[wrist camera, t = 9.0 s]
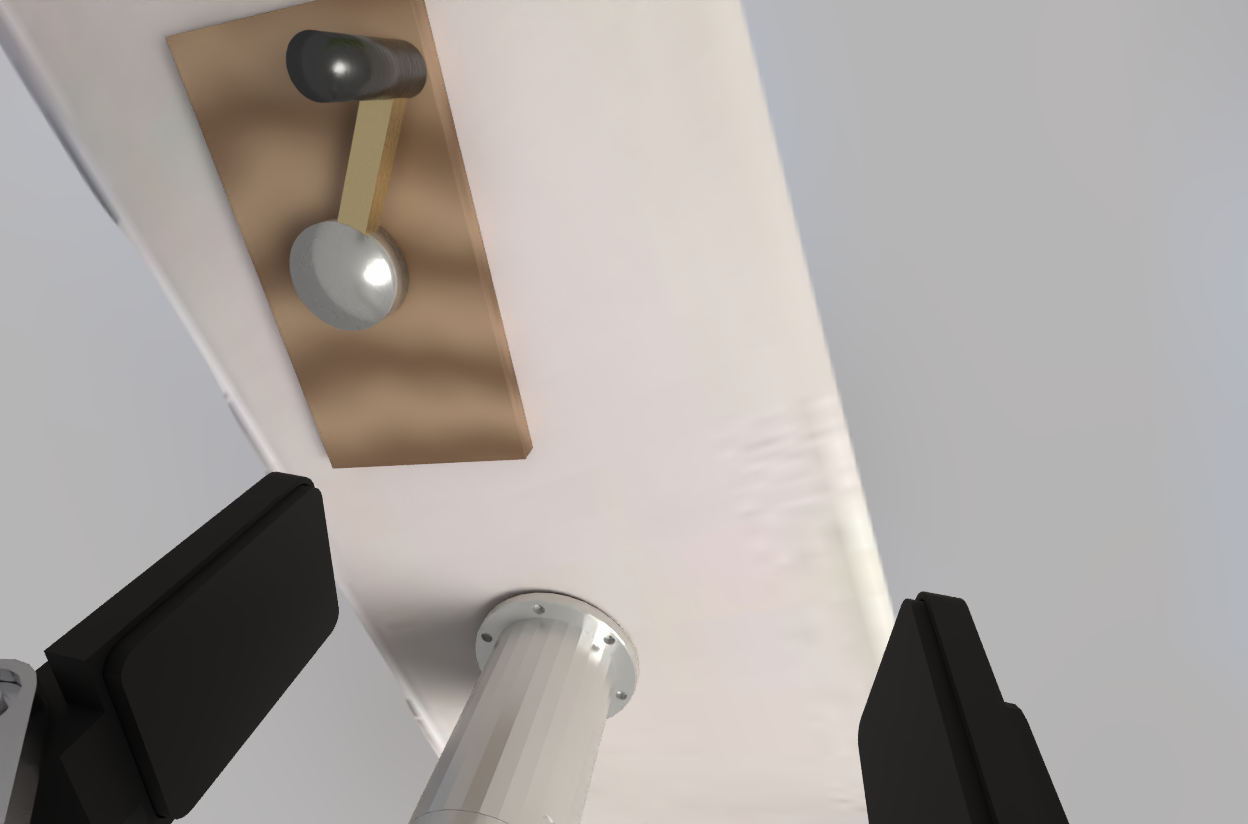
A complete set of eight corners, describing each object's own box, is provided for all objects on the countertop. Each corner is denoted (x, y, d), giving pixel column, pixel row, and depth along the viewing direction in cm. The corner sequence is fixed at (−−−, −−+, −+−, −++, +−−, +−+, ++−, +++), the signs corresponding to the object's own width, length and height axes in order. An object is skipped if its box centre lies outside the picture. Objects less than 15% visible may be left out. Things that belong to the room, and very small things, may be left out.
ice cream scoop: (396, 336, 40) (326, 384, 33) (303, 293, 40) (216, 333, 33) (464, 68, 33) (391, 65, 26) (351, 15, 33) (250, -1, 26)
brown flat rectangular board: (532, 447, 44) (524, 460, 42) (345, 457, 47) (330, 470, 45) (419, -17, 33) (402, -22, 31) (187, 38, 36) (161, 36, 35)
